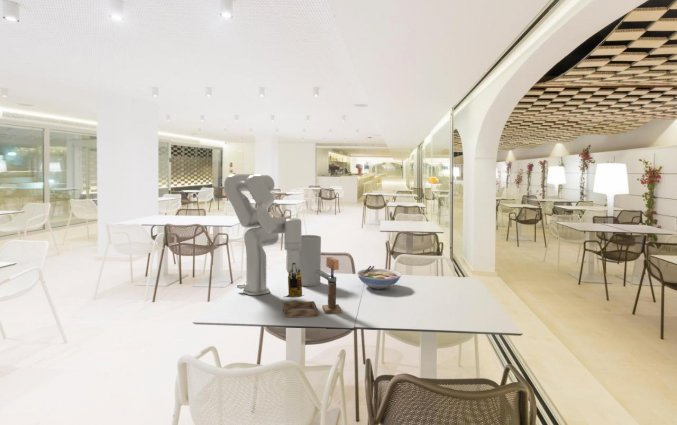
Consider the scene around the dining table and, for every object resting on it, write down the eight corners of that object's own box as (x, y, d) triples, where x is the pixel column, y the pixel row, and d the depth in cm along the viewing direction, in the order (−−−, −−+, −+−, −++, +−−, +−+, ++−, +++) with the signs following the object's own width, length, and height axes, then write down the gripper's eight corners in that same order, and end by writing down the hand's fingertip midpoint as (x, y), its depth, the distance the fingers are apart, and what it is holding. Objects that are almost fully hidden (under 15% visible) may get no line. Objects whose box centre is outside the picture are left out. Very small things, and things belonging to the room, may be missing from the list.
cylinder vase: (324, 282, 230) (325, 236, 228) (311, 288, 220) (311, 239, 217) (306, 279, 237) (306, 234, 235) (291, 284, 226) (292, 237, 224)
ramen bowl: (395, 296, 208) (396, 279, 207) (350, 291, 215) (350, 275, 214) (404, 283, 231) (405, 268, 230) (363, 279, 238) (364, 265, 238)
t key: (312, 273, 198) (312, 251, 197) (319, 272, 199) (320, 251, 199) (332, 284, 179) (332, 260, 178) (340, 283, 180) (340, 260, 179)
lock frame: (284, 317, 174) (285, 287, 173) (283, 308, 186) (283, 280, 185) (342, 314, 179) (343, 285, 178) (337, 305, 191) (337, 278, 190)
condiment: (299, 297, 189) (298, 270, 190) (281, 297, 192) (280, 270, 193) (305, 295, 196) (304, 268, 197) (288, 295, 199) (287, 269, 200)
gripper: (283, 243, 200) (283, 281, 202) (285, 249, 183) (285, 290, 185) (299, 243, 202) (299, 280, 203) (303, 249, 185) (303, 290, 186)
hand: (293, 285), depth 194 cm, fingers closed on condiment, 6 cm apart
